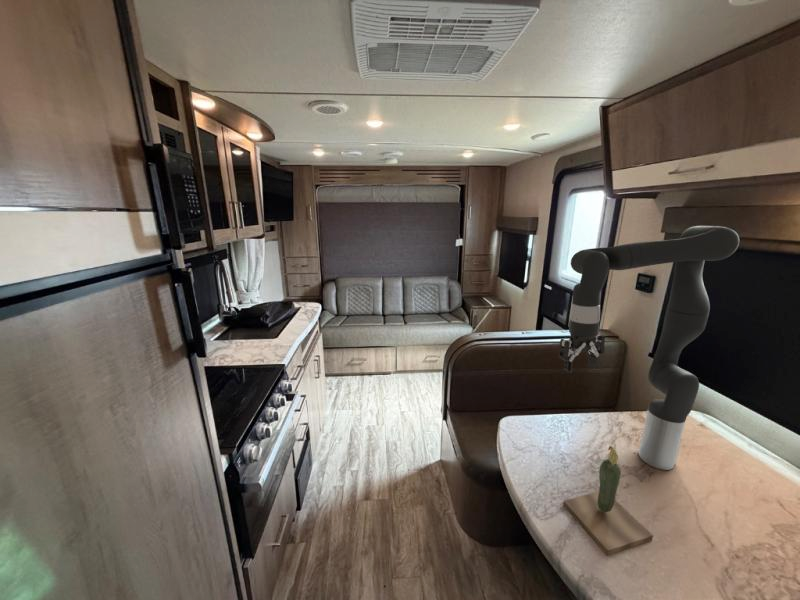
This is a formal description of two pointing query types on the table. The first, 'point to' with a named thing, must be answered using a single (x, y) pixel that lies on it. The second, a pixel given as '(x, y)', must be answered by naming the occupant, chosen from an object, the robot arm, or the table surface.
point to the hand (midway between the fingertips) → (580, 369)
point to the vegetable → (608, 481)
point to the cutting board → (607, 524)
